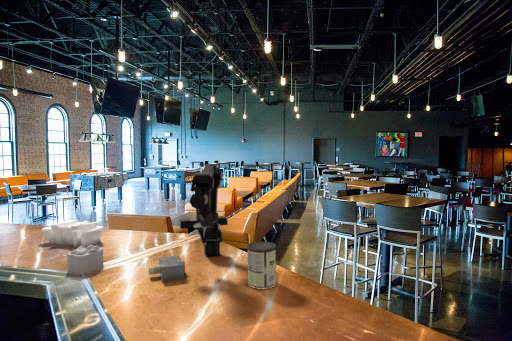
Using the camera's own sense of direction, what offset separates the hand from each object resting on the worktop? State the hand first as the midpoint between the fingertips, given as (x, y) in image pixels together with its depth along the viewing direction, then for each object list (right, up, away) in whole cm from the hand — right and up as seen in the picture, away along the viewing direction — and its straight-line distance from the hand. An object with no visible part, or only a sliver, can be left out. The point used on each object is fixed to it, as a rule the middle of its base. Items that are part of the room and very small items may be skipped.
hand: (203, 243), depth 127 cm
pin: (-14, -11, -5) cm, 18 cm away
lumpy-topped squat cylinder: (-49, -11, +4) cm, 50 cm away
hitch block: (-12, -11, -4) cm, 17 cm away
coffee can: (+23, -12, -14) cm, 29 cm away
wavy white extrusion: (-76, -10, +42) cm, 87 cm away
